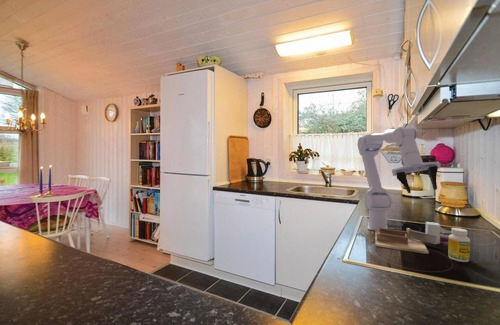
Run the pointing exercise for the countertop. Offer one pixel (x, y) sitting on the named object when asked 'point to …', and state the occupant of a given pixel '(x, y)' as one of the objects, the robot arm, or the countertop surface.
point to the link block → (433, 230)
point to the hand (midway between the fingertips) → (422, 190)
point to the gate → (421, 236)
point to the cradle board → (398, 241)
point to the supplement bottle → (459, 245)
